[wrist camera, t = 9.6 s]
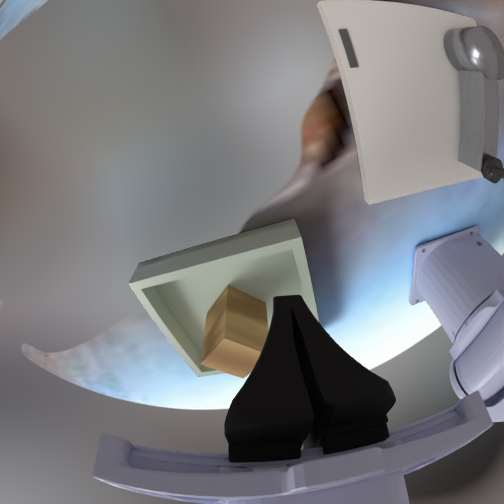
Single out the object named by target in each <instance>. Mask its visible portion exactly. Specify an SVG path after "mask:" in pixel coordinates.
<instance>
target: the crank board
mask: <svg viewBox="0 0 504 504" xmlns="http://www.w3.org/2000/svg"><path fill="white" fill-rule="evenodd" d="M317 7H318V10H319V13H320V15H321V17H322V20H323V23H324V26H325V28H326V31H327V34H328V37H329V40H330V43H331V46H332V49H333V52H334V55H335V59H336V62H337V65H338V69H339V72H340V76H341V80H342V83H343V87H344V91H345V95H346V99H347V103H348V107H349V112H350V116H351V121H352V126H353V131H354V136H355V141H356V147H357V152H358V158H359V164H360V171H361V178H362V185H363V193H364V200H365V201H366V202H367V203H368V204H369V205H371V204H375V203H379V202H383V201H387V200H391V199H395V198H399V197H403V196H407V195H411V194H415V193H419V192H423V191H427V190H431V189H435V188H439V187H443V186H448V185H452V184H456V183H460V182H464V181H469V180H473V179H477V178H482V177H483V175H482V172H479V171H477V170H475V169H473V168H471V167H470V166H468V165H466V164H463V163H461V162H459V161H458V156H459V142H460V85H459V72H458V71H457V70H455V68H454V67H453V66H452V65H451V63H450V61H449V60H448V58H447V55H446V53H445V49H444V43H443V42H444V35H445V33H446V32H447V31H448V30H450V29H456V28H465V27H476V26H477V25H476V22H475V19H472V18H469V17H466V16H463V15H459V14H455V13H451V12H447V11H443V10H439V9H434V8H429V7H424V6H418V5H412V4H405V3H397V2H387V1H372V0H326V1H320V2H319V3H318V4H317Z"/></svg>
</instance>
